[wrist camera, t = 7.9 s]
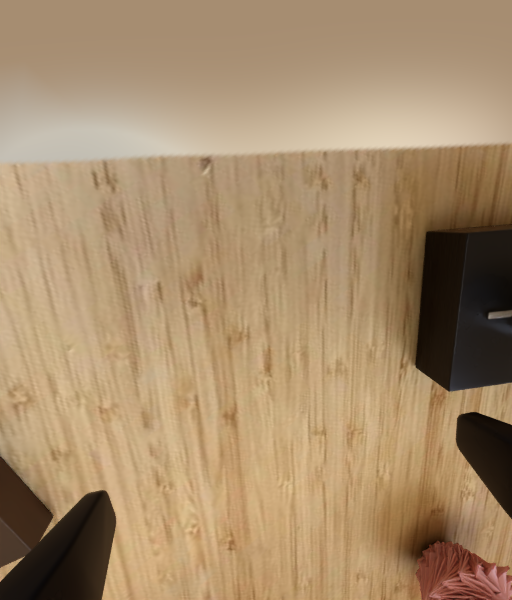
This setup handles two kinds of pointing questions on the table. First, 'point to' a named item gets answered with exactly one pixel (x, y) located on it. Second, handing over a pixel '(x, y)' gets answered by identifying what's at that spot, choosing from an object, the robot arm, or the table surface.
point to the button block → (19, 517)
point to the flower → (460, 575)
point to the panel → (467, 307)
